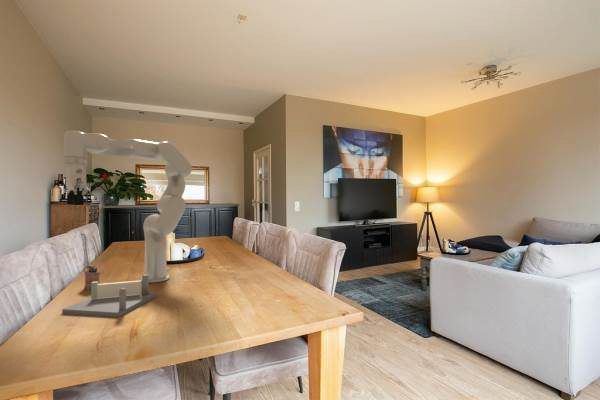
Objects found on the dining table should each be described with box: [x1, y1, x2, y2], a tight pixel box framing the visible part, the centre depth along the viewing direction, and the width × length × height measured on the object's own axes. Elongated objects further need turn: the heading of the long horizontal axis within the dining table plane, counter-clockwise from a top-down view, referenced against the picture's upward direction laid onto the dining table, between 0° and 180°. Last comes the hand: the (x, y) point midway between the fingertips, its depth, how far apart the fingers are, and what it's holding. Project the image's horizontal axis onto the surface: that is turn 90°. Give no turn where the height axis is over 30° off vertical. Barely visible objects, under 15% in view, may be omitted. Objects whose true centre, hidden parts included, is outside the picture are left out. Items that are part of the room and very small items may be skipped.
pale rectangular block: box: [90, 279, 142, 299], centre depth 116 cm, size 16×2×6 cm, turn 113°
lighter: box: [84, 264, 101, 291], centre depth 131 cm, size 8×3×10 cm, turn 65°
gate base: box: [61, 274, 157, 318], centre depth 112 cm, size 21×21×9 cm
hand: (75, 204), depth 122 cm, fingers open, 9 cm apart
